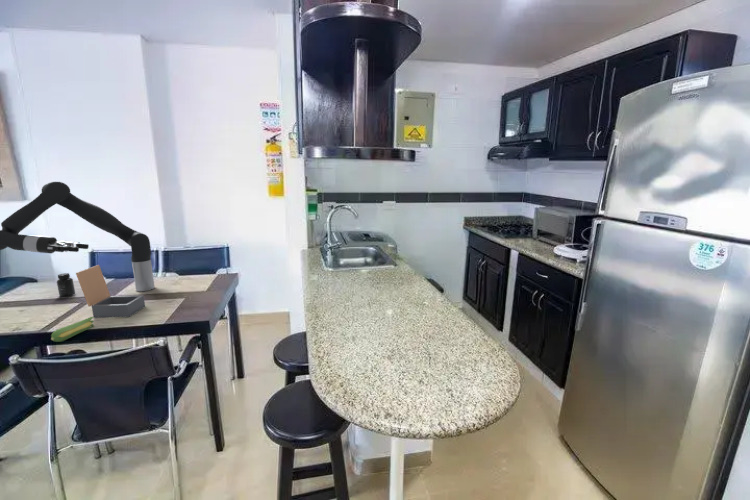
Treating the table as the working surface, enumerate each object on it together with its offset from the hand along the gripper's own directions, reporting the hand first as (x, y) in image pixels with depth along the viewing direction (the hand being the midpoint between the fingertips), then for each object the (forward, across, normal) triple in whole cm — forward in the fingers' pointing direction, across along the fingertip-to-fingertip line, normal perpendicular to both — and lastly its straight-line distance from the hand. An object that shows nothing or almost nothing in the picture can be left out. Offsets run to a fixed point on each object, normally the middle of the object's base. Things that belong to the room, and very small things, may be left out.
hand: (83, 248), depth 162 cm
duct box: (+16, 0, +30) cm, 34 cm away
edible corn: (+8, -21, +33) cm, 40 cm away
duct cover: (+5, +2, +18) cm, 18 cm away
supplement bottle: (-22, +36, +35) cm, 55 cm away
